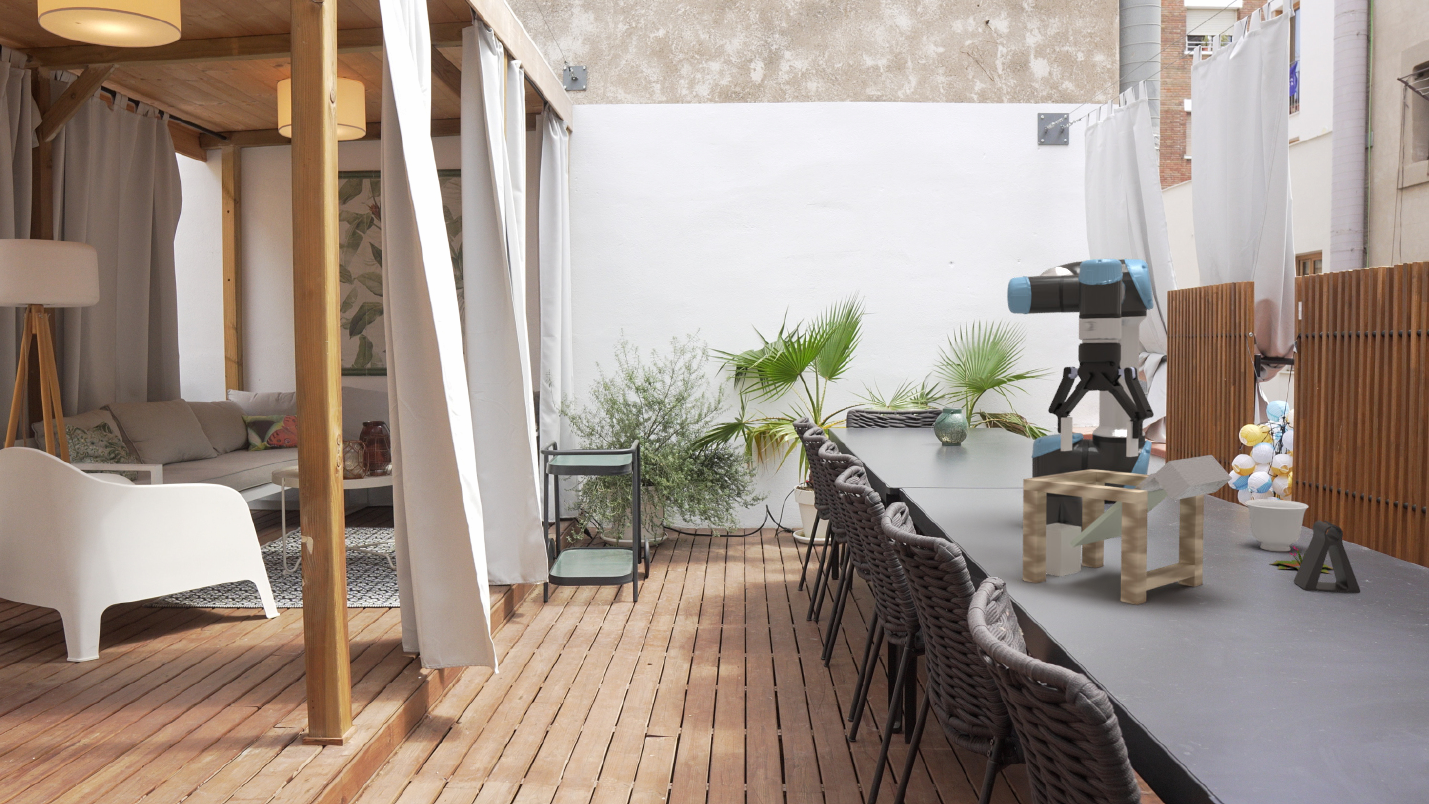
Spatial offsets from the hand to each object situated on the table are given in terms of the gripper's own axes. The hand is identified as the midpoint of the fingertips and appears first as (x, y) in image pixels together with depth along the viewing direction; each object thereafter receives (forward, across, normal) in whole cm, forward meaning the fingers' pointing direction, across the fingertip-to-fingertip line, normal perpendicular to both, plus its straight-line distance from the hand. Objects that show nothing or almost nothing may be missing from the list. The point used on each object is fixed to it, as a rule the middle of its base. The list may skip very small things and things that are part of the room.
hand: (1098, 453), depth 185 cm
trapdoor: (+12, +12, 0) cm, 17 cm away
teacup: (+24, +8, +56) cm, 62 cm away
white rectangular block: (+15, -8, 0) cm, 17 cm away
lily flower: (+25, +20, +40) cm, 52 cm away
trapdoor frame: (+24, +3, 0) cm, 24 cm away
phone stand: (+24, +30, +26) cm, 47 cm away
